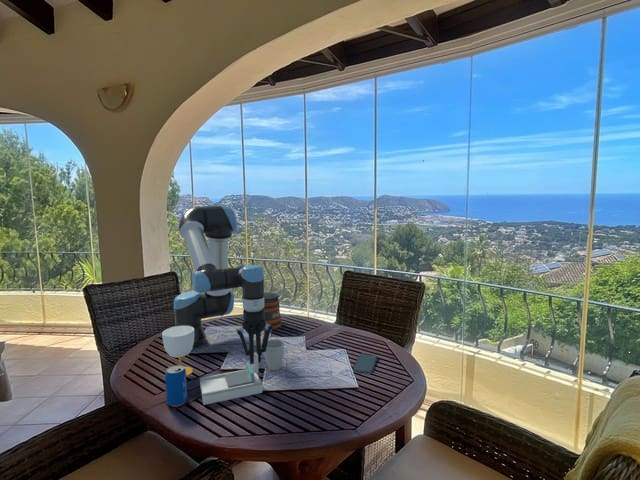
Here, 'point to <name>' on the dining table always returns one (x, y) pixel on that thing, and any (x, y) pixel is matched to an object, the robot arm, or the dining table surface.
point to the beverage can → (176, 385)
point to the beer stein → (272, 310)
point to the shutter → (240, 377)
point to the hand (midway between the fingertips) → (255, 371)
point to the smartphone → (365, 363)
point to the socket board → (226, 388)
